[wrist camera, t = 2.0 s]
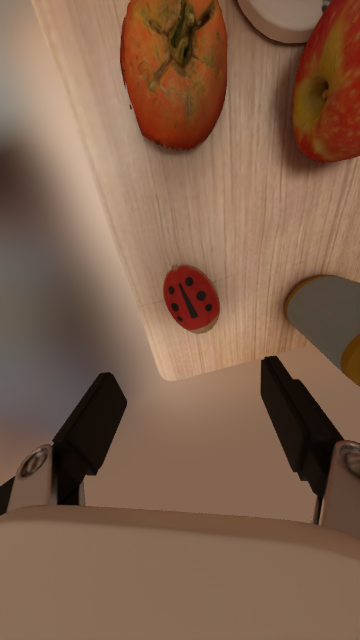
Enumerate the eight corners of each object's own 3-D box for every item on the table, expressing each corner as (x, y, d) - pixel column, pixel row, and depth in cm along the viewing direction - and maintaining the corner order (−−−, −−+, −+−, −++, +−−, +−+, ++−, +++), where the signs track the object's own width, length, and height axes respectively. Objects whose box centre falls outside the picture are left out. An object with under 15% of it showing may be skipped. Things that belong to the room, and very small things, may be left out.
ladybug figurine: (187, 334, 24) (185, 349, 21) (151, 277, 21) (143, 285, 18) (228, 317, 22) (234, 330, 19) (197, 250, 19) (197, 253, 15)
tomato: (194, 182, 14) (129, 69, 8) (153, 167, 18) (86, 77, 12) (258, 75, 12) (233, -191, 6) (198, 80, 15) (142, -89, 9)
